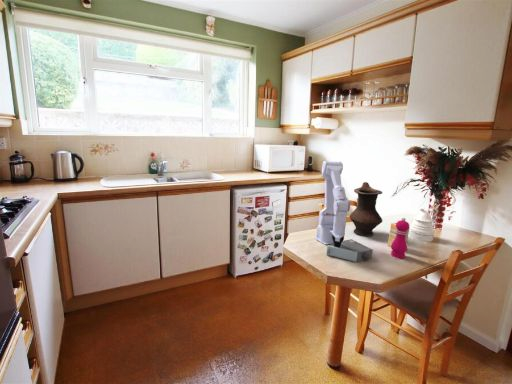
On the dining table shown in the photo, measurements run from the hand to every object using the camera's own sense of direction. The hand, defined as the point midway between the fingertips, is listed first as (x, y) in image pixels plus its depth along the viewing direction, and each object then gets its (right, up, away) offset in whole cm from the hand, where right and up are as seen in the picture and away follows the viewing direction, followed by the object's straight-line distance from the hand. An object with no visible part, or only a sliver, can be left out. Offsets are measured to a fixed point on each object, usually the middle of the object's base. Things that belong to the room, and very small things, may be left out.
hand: (336, 250), depth 143 cm
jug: (+25, +4, +33) cm, 42 cm away
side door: (+1, -3, -4) cm, 5 cm away
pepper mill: (+31, -4, +2) cm, 31 cm away
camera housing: (+9, -2, +2) cm, 9 cm away
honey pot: (+58, +1, +30) cm, 66 cm away
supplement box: (+35, -2, +12) cm, 37 cm away
